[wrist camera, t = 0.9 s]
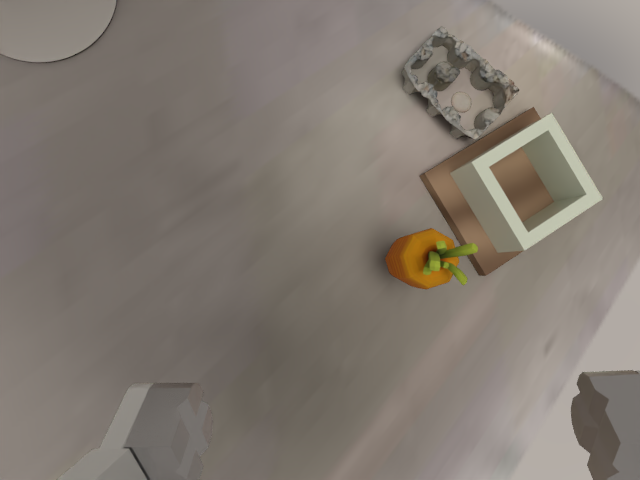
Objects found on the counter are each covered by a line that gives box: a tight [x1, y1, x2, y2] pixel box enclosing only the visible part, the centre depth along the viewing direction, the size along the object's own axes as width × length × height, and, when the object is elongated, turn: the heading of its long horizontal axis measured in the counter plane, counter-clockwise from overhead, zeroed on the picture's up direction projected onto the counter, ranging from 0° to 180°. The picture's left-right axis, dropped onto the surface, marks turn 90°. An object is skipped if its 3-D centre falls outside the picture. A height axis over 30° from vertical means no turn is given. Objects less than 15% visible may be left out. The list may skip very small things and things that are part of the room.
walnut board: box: [420, 107, 554, 276], centre depth 51 cm, size 12×14×2 cm
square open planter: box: [450, 113, 603, 253], centre depth 48 cm, size 9×9×5 cm
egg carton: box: [402, 26, 519, 140], centre depth 50 cm, size 11×8×4 cm
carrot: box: [385, 228, 478, 289], centre depth 42 cm, size 5×5×15 cm
